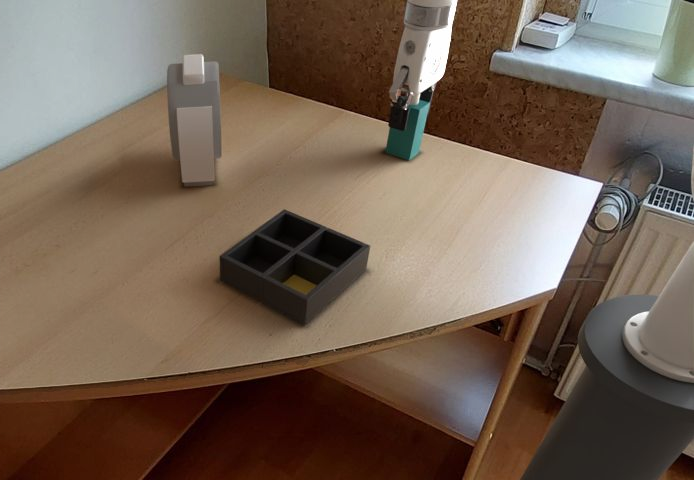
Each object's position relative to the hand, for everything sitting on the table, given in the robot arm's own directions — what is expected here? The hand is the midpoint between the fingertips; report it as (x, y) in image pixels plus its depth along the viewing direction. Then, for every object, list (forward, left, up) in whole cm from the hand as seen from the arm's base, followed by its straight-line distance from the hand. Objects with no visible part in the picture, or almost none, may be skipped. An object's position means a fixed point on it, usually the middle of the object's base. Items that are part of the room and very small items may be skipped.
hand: (408, 119), depth 111 cm
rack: (-6, +42, -6) cm, 43 cm away
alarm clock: (+26, +28, -7) cm, 39 cm away
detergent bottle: (0, 0, -6) cm, 6 cm away
